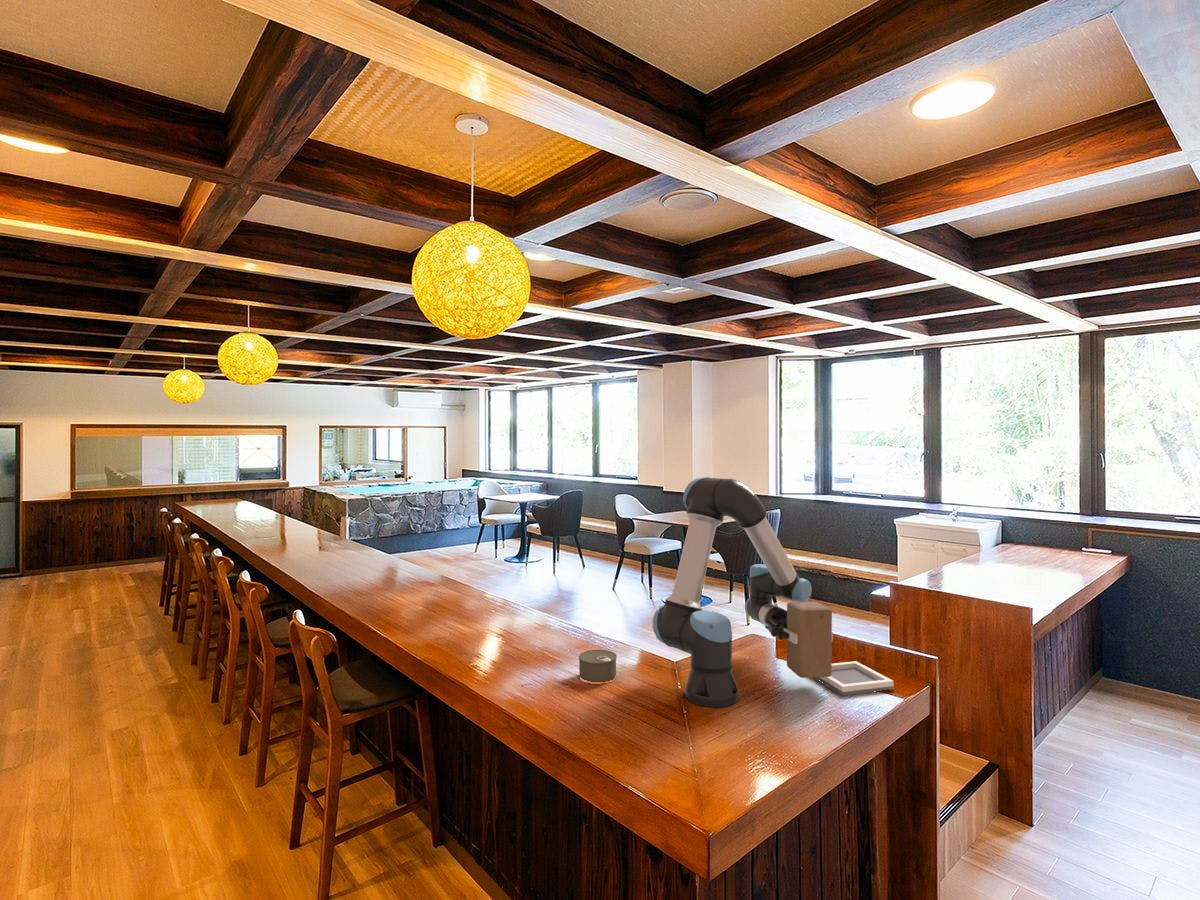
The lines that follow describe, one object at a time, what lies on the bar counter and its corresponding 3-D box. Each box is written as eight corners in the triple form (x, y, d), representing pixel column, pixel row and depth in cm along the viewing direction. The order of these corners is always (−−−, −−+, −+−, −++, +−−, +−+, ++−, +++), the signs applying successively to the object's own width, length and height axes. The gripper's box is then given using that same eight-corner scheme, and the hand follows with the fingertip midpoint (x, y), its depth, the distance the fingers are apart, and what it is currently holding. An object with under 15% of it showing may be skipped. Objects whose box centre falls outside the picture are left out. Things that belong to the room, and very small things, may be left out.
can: (599, 667, 196) (598, 647, 196) (624, 677, 187) (624, 656, 187) (571, 677, 188) (570, 655, 188) (596, 688, 179) (596, 665, 179)
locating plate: (842, 696, 171) (842, 686, 171) (809, 674, 188) (809, 666, 188) (893, 690, 175) (893, 680, 175) (856, 669, 192) (855, 661, 192)
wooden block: (832, 678, 172) (833, 609, 173) (800, 679, 171) (800, 609, 171) (816, 665, 182) (816, 600, 182) (785, 666, 181) (785, 601, 181)
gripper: (806, 627, 198) (849, 648, 177) (742, 631, 193) (778, 653, 171) (806, 604, 198) (849, 622, 177) (742, 608, 193) (778, 627, 172)
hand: (814, 638), depth 174 cm, fingers closed on wooden block, 11 cm apart
